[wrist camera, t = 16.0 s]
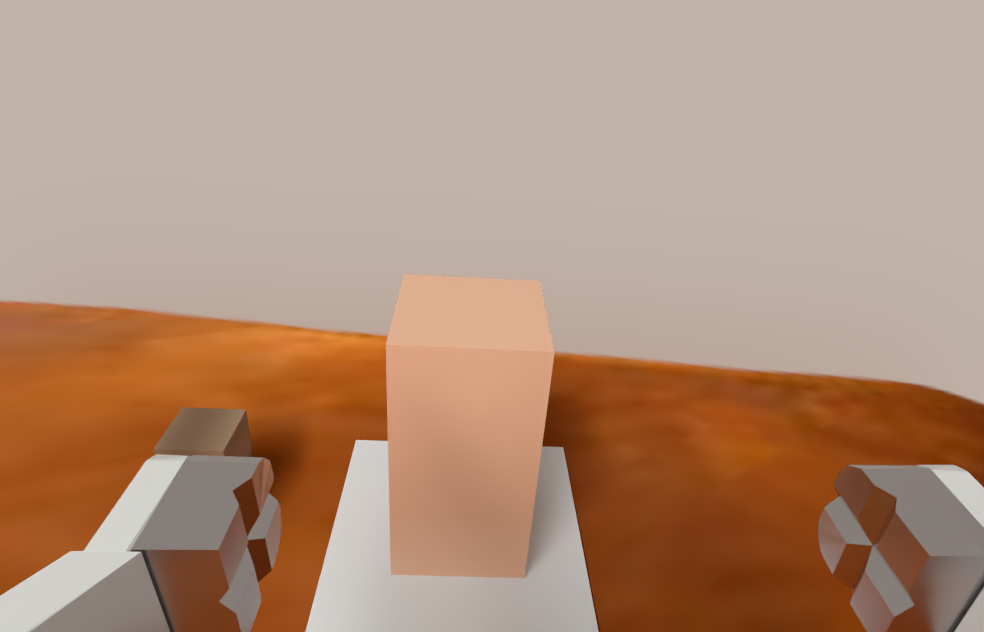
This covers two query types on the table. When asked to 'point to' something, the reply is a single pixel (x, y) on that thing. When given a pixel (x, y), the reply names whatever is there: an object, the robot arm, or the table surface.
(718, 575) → the table surface
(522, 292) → the peach rectangular block
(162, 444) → the walnut peg
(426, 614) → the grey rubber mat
